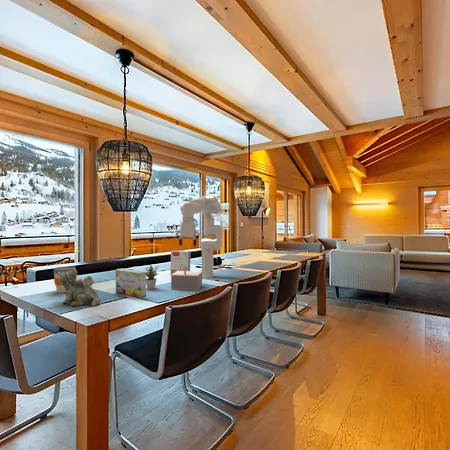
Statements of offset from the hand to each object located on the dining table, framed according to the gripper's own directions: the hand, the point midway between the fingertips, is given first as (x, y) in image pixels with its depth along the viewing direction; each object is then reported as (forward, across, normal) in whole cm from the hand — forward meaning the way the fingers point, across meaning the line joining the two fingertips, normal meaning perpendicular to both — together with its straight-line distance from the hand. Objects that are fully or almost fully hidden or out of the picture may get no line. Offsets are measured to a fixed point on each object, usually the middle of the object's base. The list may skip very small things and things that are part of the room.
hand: (187, 245), depth 201 cm
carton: (+29, +1, -3) cm, 29 cm away
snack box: (+30, +30, +22) cm, 48 cm away
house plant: (+29, +24, +3) cm, 38 cm away
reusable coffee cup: (+30, +75, +22) cm, 84 cm away
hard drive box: (+28, +19, -49) cm, 59 cm away
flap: (+20, +1, -3) cm, 20 cm away
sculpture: (+31, +49, +44) cm, 73 cm away
